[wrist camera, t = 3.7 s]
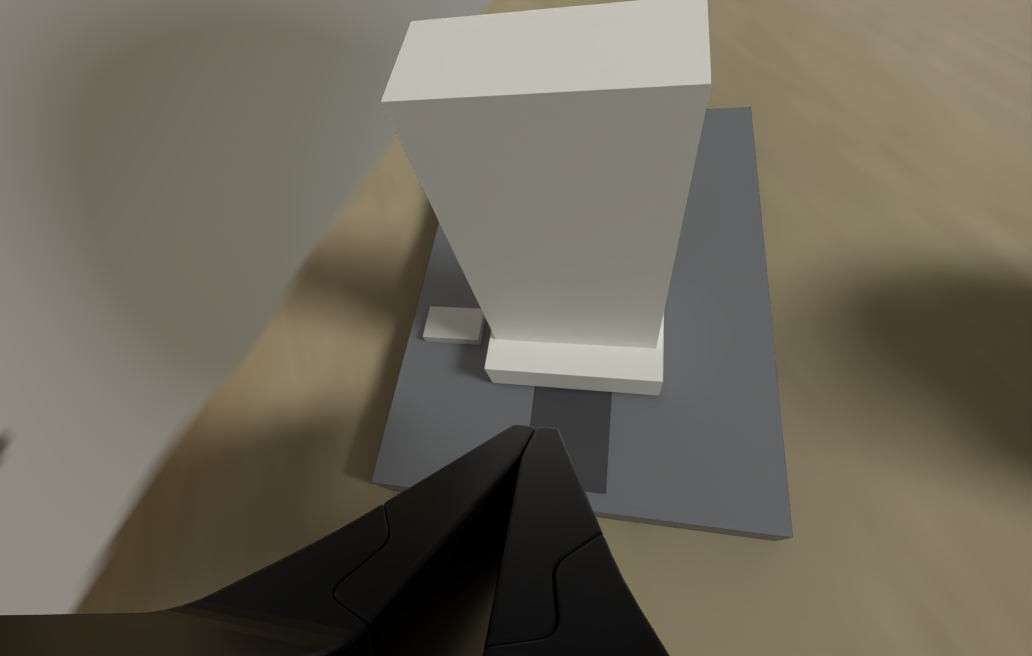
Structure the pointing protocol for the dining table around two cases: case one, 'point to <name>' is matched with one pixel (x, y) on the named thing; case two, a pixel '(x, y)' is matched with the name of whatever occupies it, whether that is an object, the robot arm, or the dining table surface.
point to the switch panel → (625, 416)
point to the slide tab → (561, 175)
